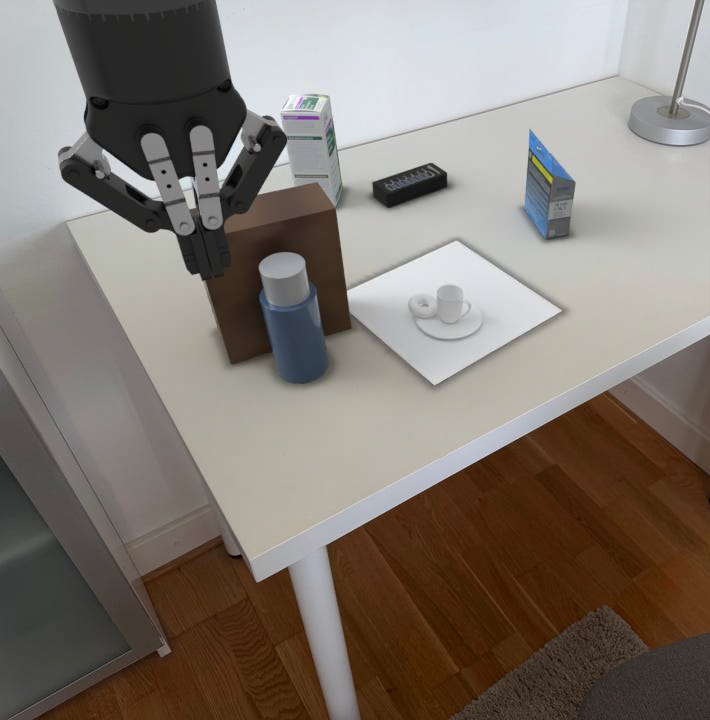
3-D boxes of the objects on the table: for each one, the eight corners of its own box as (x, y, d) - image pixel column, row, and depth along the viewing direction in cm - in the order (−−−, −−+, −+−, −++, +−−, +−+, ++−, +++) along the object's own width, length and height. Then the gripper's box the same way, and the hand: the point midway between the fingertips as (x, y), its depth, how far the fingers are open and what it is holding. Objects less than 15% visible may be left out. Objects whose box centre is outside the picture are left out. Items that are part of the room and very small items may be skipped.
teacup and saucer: (398, 313, 83) (396, 286, 80) (449, 288, 87) (449, 261, 84) (444, 351, 78) (444, 323, 75) (496, 322, 82) (498, 295, 79)
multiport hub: (372, 196, 103) (370, 182, 101) (431, 175, 108) (431, 161, 106) (388, 208, 100) (387, 194, 99) (448, 186, 105) (448, 172, 104)
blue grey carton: (570, 236, 96) (581, 153, 88) (544, 240, 95) (553, 157, 87) (546, 204, 102) (554, 124, 94) (522, 208, 101) (528, 127, 93)
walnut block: (230, 364, 75) (193, 240, 65) (218, 332, 79) (181, 210, 68) (351, 328, 80) (336, 208, 70) (335, 300, 84) (317, 181, 73)
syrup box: (336, 208, 100) (323, 111, 90) (296, 207, 100) (278, 109, 90) (343, 189, 104) (331, 93, 94) (304, 187, 104) (288, 92, 94)
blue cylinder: (285, 397, 75) (288, 353, 63) (250, 310, 77) (246, 250, 65) (334, 380, 77) (346, 334, 65) (298, 295, 80) (303, 235, 67)
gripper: (248, -41, 39) (291, 224, 51) (-19, -23, 34) (96, 266, 46) (286, -6, 34) (324, 278, 46) (-20, 21, 29) (110, 332, 41)
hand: (210, 272), depth 46 cm, fingers closed
